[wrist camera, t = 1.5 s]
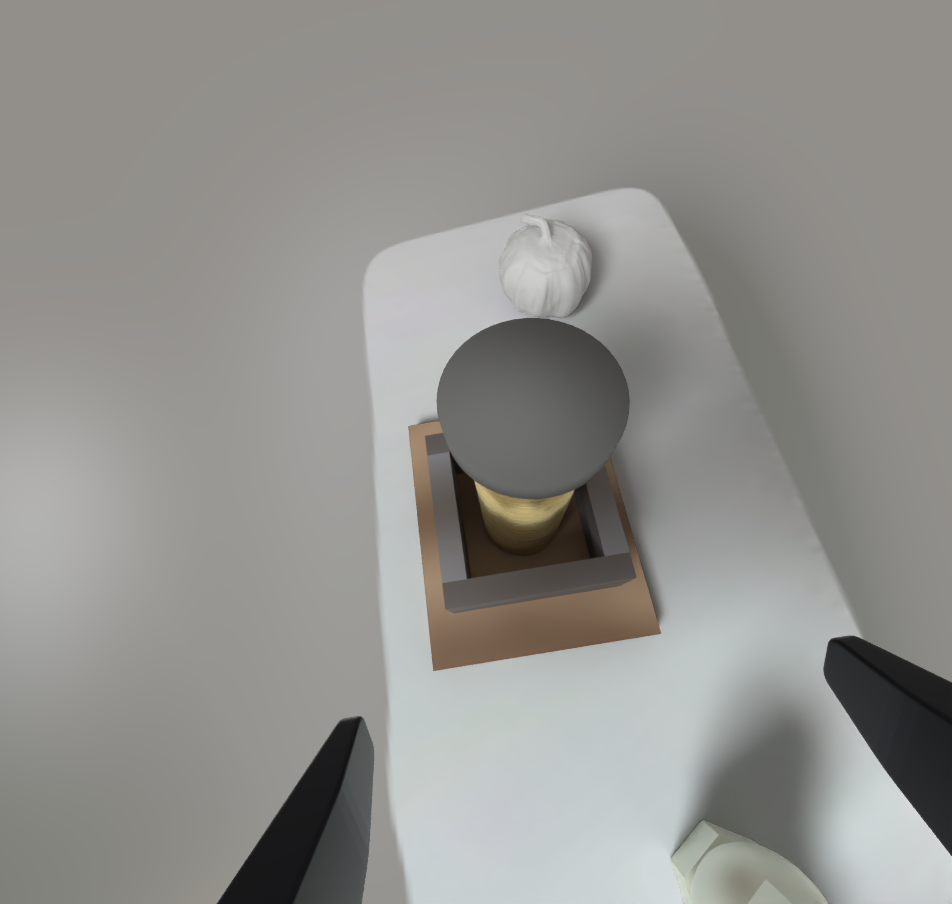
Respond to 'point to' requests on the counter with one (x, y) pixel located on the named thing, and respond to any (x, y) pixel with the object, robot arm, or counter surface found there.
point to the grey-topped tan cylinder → (531, 423)
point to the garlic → (545, 267)
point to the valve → (737, 871)
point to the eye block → (522, 569)
